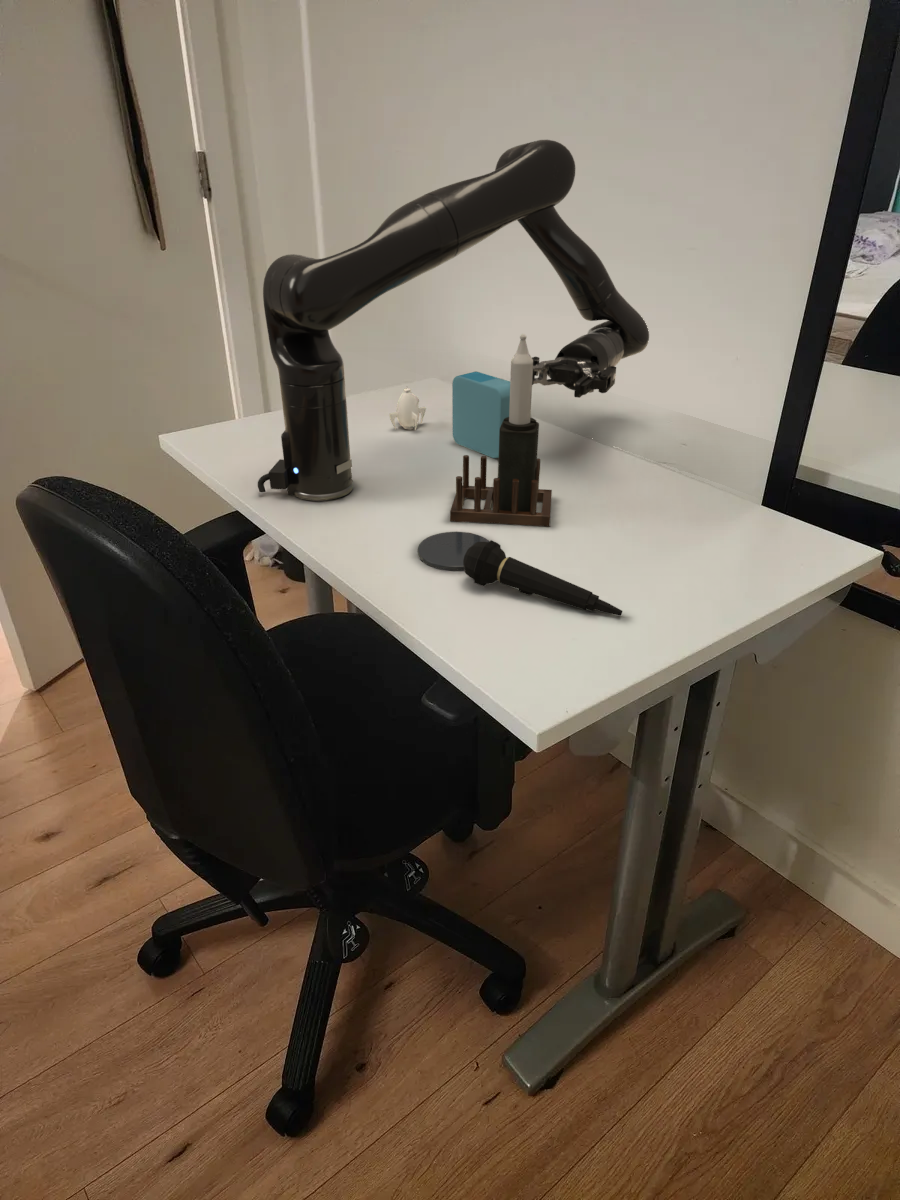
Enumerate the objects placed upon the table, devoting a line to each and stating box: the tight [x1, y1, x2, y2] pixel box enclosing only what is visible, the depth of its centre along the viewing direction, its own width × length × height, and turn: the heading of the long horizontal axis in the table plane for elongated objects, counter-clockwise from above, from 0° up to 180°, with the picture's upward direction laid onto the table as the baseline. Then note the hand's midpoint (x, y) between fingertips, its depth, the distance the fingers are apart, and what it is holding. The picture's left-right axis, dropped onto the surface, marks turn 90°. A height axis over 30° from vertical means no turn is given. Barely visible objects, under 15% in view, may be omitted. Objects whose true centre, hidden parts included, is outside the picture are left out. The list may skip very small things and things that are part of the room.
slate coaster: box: [417, 531, 490, 572], centre depth 105 cm, size 10×10×1 cm
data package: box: [451, 371, 510, 459], centre depth 135 cm, size 12×4×12 cm, turn 41°
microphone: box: [463, 539, 623, 617], centre depth 94 cm, size 6×6×20 cm
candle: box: [497, 333, 540, 512], centre depth 110 cm, size 5×5×25 cm
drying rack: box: [449, 454, 553, 528], centre depth 115 cm, size 14×9×6 cm
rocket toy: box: [388, 387, 427, 431], centre depth 146 cm, size 5×5×8 cm
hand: (549, 386), depth 116 cm, fingers open, 8 cm apart
